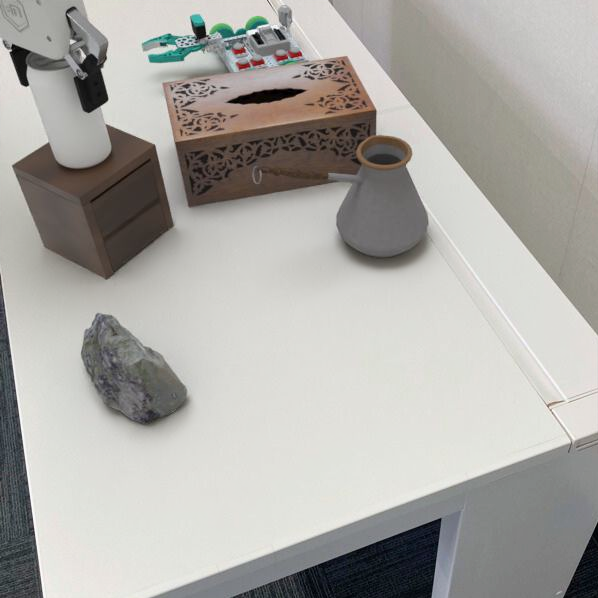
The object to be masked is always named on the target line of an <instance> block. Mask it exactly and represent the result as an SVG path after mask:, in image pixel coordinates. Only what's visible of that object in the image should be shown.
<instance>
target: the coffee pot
mask: <svg viewBox="0 0 598 598" xmlns="http://www.w3.org/2000/svg"><path fill="white" fill-rule="evenodd" d="M356 155H357V158H358V160H359V161H360V162H361V164H362V166H361V168H360V170H359V171H358V173H357V175H348V174H336V173H328V172H323V171H318V170H312V169H306V168H300V167H286V168H281V167H280V166H279V165H276V166H274V167H269V166H267V165H264V166H254V168H253V172H252V176H253V181H254V183H255V184H260V182H261V178H262V173H265V174H268V173H273V174H274V175H275V176H279V175H280V174H281V175H284V176H288V177H292V178H295V179H317V180H327V179H328V180H335V181H337V182H343V183H351V185H350V187H349V189H348V191H347V193H346V195H345V196H344V199H343V201H342V202H341V204H340V206H339V208H338V210H337V213H336V216H335V217H336V218H335V221H336V222H335V224H336V228H337V230H338V232H339V234H340V236H341V237H342V240H344V241H345V242H346V244H347V245H348V246H350V247H352V248H353V249H355V250H356V251H358V252H360V253H362V254H364V255H366V256H370V257H372V258H373V257H374V258H391V257H396V256H398V255H400V254H403V253H404V252H407V251H410V250H411V249H412V248H414V247H415V246H416V245H418V244H419V242H420V241H421V240H422V239H423V237H424V236H425V235H426V233H427V230H428V227H429V223H430V222H429V215H428V212H427V209H426V207H425V204H424V202H423V200H422V199H421V196H420V195H419V192H418V189H417V188H416V185H415V183H414V180H413V179H412V175H411V174H410V172H409V170H408V167H407V165H408V163H409V162H410V161H411V159H412V157H413V150H412V147H411V145H410V144H409V143H408V142H407V141H405V140H403V139H402V138H400V137H396V136H392V135H382V134H378V135H377V134H376V135H372V136H370V137H368V138H367V139H365V140H364V141H363V142H361V143H360V145H359V146H358V148H357V150H356ZM256 167H257V171H259V172H260V179H259V182H258V183H256V182H255V178H254V171H255V168H256Z"/></svg>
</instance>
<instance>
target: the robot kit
mask: <svg viewBox="0 0 598 598" xmlns="http://www.w3.org/2000/svg"><path fill="white" fill-rule="evenodd" d="M292 12H293V11H292V9H291V7H290V6H288V5H287V4H283V5H281V6H280V7H279V8H278V9H277V13H278V22H279V23H280V25H279V26H278V24H273V25H270V23H269V21H268V20H267V19H266V17H264V16H260V15H255V16H252V17H250V18H249V19H248V20H247V21H246V23H245V27H244V28H243V27H240V28H238V29H236V30H234V29H233V27H232V26H230V25H229V24H228V23H224V22H219V23H216V24H214V25H213V26H212V27H211V29H210V30H209V33H208V34H207V28H206V22H205V20H204V18H203V17H202V15H201V14H199V13H196V14H191V15H190V16H189V19H190V24H191V29H192V32H193V34H186V35H182V36H181V35H172V33H170V32H169V33H165V34H163V35H160V36H156V37H154V38H151V39H148V40H146V41H144V42H142V43H141V48H142V51H143V52H144V53H145V52H148V51H151V50H153V49H158V48H168V47H169V45H170V46H175V50H174V49H169V50H167V51H165V52H161V53H150V54H149V53H148V54H147V58H148V63H151V64H166V63H178V62H179V63H180V62H185V58H186V57H187V56H189V55H190V54H191V53H196V52H199V51H201V52H202V54H203V55H204V54H205V53H207V54H210V53H215V52H217V54H218V55H219V56H220V58H221V59H222V61H223V63H224V64H225V66H226V68H227V69H228V71H229V73H233V72H240V71H247V70H254V69H260V68H267V67H274V66H281V65H288V64H295V63H302V62H308V61H310V59H309V57H307V56H306V54H305V52H304V51H303V50H302V49H301V48H300V47H299V45H298V44H297V43H296V41H295V40H294V38H293V37H292V32H291V27H292V23H293V13H292ZM234 31H235V32H234Z"/></svg>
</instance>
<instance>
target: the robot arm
mask: <svg viewBox="0 0 598 598" xmlns="http://www.w3.org/2000/svg"><path fill="white" fill-rule="evenodd" d="M0 38H1V39H2V40H1V42H2V45H3V47H4V48H5V49H6V50H7V51H9V52H8V53H9V56H10V59H11V61H12V65H13V67H14V70H15V73H16V76H17V78H18V81H19V84H20V85H21V86H23V87H25V88H27V87H30V85H29V82H28V79H27V67H28V65H27V64H26V57H27V56H28V54H29V53H30V52H35V53H37V54H40V55H42V56H45V57H48V58H51V59H55V60H59V59H61V58H63V57H64V58H65V59H66V61H67V62H68V64H69V65H70V66H71V68H72V69H73V70H74V72H75V73H76V75H77V76H76V77H74V78H73V79H74V82H75V86H76V89H77V92H78V96H79V99H80V102H81V106H82V109H83V111H84V112H86V113H91V112H92V111H94V110H95V109H97V108H99V107H100V106H101V107H102V106H103V105H105V104H107V103H108V102H109V94H108V90H107V87H106V83H105V79H104V74H103V71H102V69H103V68H104V67H105V63H106V61H108V55H107V54H108V48H109V40H108V38H107V37H106V35H104V34H103V33H102V32H101V31H100V30H99V29H98V28H97V27H95V26H94V25H93V24H92V23H91V22H90V20H89V17H88V12H87V9H86V5H85V3H84V0H0ZM71 40H72V41H74V42H73V43H71ZM70 44H71V45H70ZM79 49H80V51H81V52H82V53H83V54H84V56H85V57H84V61H83V62H82V63H81V62H80V61H79V59H78V58H77V57H76V55H75V54H74V52H76V51H77V50H79Z"/></svg>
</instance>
